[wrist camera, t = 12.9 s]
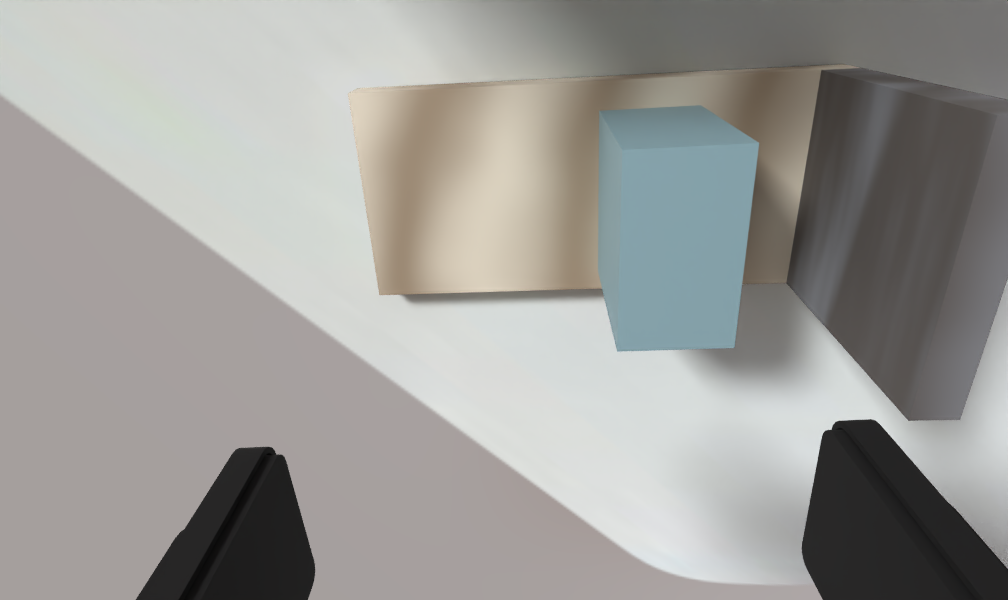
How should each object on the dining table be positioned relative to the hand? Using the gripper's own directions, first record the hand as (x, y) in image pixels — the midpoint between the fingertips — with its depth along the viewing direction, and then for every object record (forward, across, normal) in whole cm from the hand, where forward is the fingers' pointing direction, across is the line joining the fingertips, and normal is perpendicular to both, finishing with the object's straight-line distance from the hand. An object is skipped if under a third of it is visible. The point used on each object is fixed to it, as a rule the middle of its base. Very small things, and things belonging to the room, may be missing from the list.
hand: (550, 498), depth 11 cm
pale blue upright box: (+17, -5, 0) cm, 18 cm away
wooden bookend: (+19, -3, 0) cm, 19 cm away
